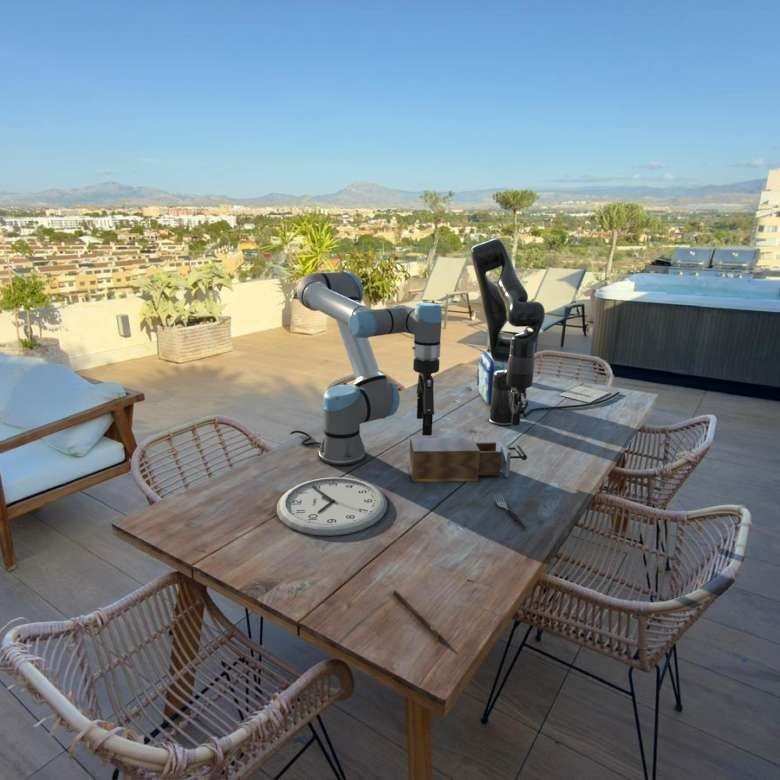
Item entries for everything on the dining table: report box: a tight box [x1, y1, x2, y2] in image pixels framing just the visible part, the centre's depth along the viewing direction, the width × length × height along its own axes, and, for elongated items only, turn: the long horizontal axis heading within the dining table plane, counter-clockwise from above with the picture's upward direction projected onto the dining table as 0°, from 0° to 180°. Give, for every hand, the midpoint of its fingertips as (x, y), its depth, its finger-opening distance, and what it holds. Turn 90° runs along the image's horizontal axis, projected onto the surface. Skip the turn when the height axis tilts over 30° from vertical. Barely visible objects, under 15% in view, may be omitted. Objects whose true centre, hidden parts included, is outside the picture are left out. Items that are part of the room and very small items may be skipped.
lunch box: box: [476, 351, 508, 406], centre depth 230 cm, size 26×11×21 cm, turn 179°
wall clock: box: [276, 476, 388, 537], centre depth 142 cm, size 30×2×30 cm
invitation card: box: [558, 385, 610, 404], centre depth 243 cm, size 21×1×15 cm
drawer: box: [475, 440, 528, 478], centre depth 162 cm, size 24×9×8 cm, turn 94°
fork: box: [493, 492, 526, 529], centre depth 140 cm, size 3×16×2 cm, turn 15°
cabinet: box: [408, 437, 480, 483], centre depth 161 cm, size 20×10×10 cm, turn 94°
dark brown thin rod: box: [392, 590, 441, 641], centre depth 102 cm, size 15×1×1 cm, turn 34°
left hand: (423, 426), depth 157 cm, fingers open, 13 cm apart
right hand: (515, 424), depth 159 cm, fingers closed
